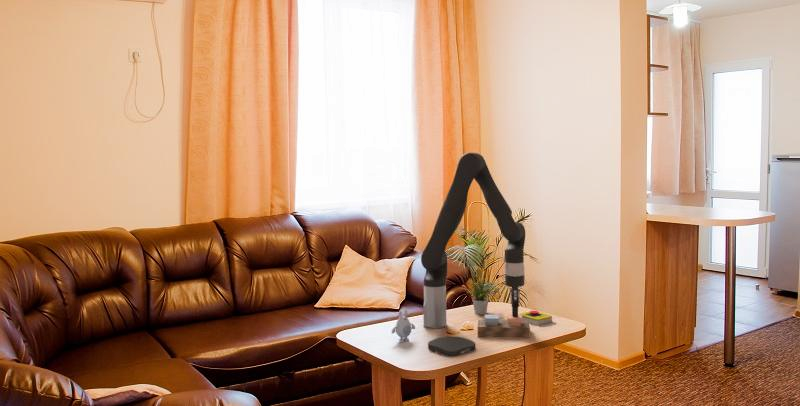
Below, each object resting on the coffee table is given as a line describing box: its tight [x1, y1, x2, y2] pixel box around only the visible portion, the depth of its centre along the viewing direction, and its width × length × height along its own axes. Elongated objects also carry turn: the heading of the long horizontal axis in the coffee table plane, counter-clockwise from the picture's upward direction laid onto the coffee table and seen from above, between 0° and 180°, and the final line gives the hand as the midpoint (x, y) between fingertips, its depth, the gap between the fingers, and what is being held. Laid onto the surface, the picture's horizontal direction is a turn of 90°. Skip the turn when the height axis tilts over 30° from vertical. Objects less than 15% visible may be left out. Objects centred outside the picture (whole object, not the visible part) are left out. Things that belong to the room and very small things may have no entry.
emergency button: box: [518, 310, 557, 328], centre depth 248 cm, size 9×4×15 cm
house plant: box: [467, 276, 496, 315], centre depth 261 cm, size 14×14×16 cm
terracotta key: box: [507, 314, 522, 326], centre depth 231 cm, size 6×6×4 cm
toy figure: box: [391, 309, 416, 343], centre depth 225 cm, size 11×6×12 cm, turn 121°
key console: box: [477, 319, 531, 339], centre depth 232 cm, size 20×10×4 cm, turn 81°
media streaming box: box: [427, 336, 477, 358], centre depth 215 cm, size 15×15×3 cm
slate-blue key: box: [484, 313, 500, 325], centre depth 232 cm, size 6×6×4 cm
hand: (515, 316), depth 231 cm, fingers closed
